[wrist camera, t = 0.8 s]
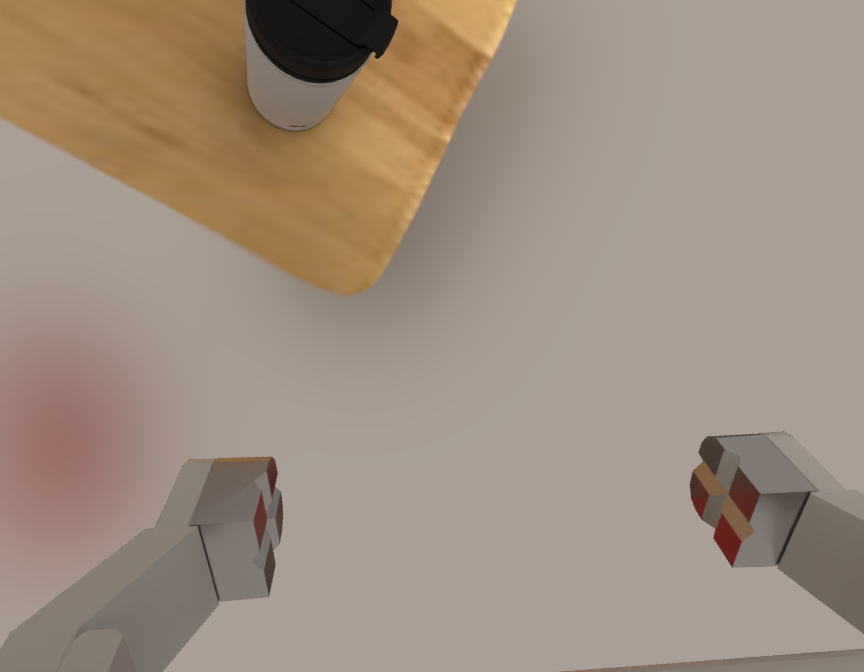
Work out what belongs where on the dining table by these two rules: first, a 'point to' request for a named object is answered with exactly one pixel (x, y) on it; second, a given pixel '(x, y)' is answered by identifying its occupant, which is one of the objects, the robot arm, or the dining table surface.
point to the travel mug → (309, 54)
